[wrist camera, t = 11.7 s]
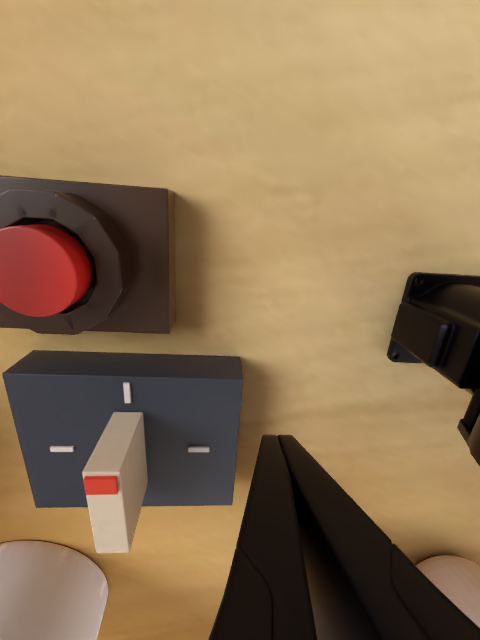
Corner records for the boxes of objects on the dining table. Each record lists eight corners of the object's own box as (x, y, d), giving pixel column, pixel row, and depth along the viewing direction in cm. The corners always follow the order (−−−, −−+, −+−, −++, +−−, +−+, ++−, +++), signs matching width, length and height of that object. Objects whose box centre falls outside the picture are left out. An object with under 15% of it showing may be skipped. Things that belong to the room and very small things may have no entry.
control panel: (239, 356, 21) (243, 380, 18) (230, 471, 24) (232, 507, 22) (32, 349, 19) (-1, 375, 16) (57, 472, 23) (34, 510, 20)
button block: (174, 191, 17) (161, 185, 13) (175, 321, 19) (165, 347, 16) (-32, 175, 16) (-111, 164, 12) (0, 314, 18) (-55, 340, 15)
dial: (148, 482, 20) (128, 557, 16) (121, 482, 20) (94, 558, 16) (143, 411, 18) (118, 476, 14) (113, 411, 18) (78, 477, 14)
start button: (88, 227, 14) (70, 229, 12) (97, 307, 15) (82, 319, 13) (-2, 221, 13) (-34, 222, 12) (15, 304, 15) (-11, 315, 13)
